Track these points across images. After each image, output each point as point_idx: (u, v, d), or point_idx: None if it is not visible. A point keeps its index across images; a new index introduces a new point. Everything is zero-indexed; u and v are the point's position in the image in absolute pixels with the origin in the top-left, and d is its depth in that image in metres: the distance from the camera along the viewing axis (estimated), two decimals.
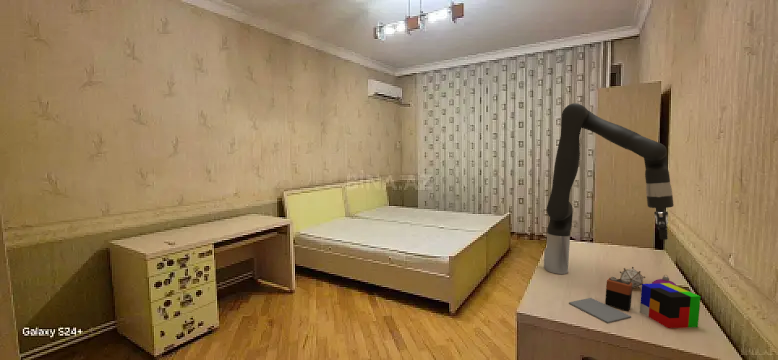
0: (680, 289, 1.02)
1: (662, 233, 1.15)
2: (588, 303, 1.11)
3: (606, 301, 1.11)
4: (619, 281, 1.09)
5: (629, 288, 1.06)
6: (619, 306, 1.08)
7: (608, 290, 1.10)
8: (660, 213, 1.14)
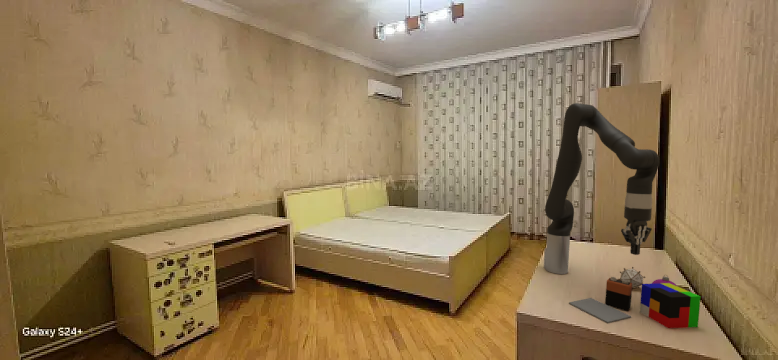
0: (680, 289, 1.02)
1: (632, 248, 1.11)
2: (588, 303, 1.11)
3: (606, 301, 1.11)
4: (619, 281, 1.09)
5: (629, 288, 1.06)
6: (619, 306, 1.08)
7: (608, 291, 1.10)
8: (624, 231, 1.09)
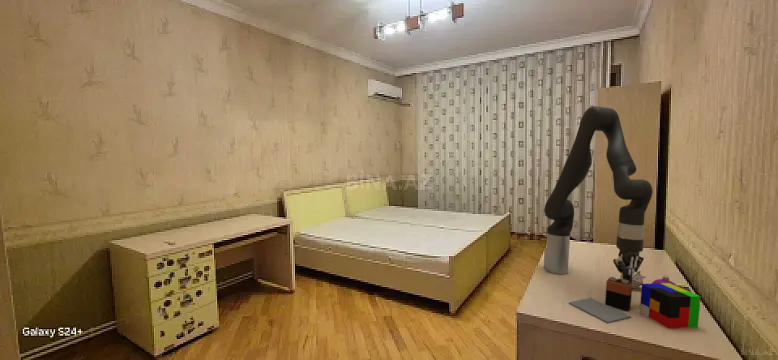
0: (681, 289, 1.02)
1: (624, 277, 1.10)
2: (588, 303, 1.11)
3: (606, 301, 1.11)
4: (619, 281, 1.09)
5: (629, 289, 1.06)
6: (619, 306, 1.08)
7: (608, 291, 1.10)
8: (616, 262, 1.08)
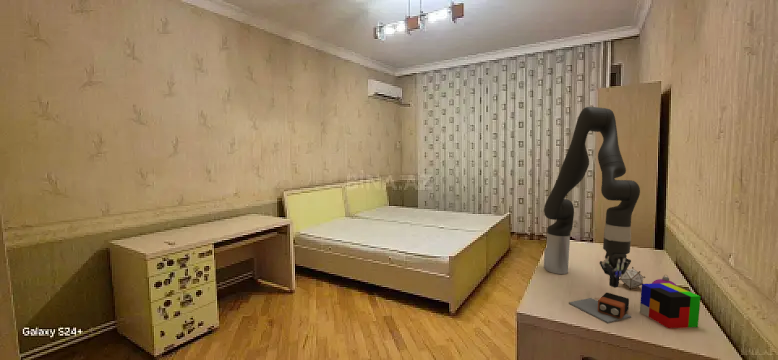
0: (680, 289, 1.02)
1: (611, 280, 1.08)
2: (588, 303, 1.11)
3: None
4: (609, 311, 1.03)
5: (621, 317, 1.01)
6: None
7: None
8: (603, 264, 1.06)
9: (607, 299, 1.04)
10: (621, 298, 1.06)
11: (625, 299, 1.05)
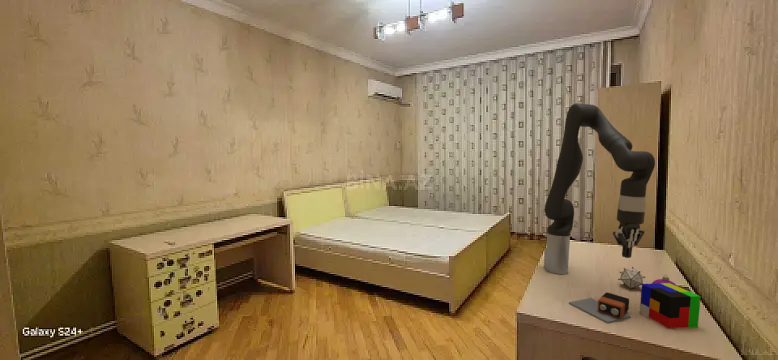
0: (680, 289, 1.02)
1: (623, 250, 1.10)
2: (588, 303, 1.11)
3: None
4: (609, 311, 1.03)
5: (621, 317, 1.01)
6: None
7: None
8: (616, 234, 1.07)
9: (607, 299, 1.04)
10: (621, 298, 1.06)
11: (625, 299, 1.05)
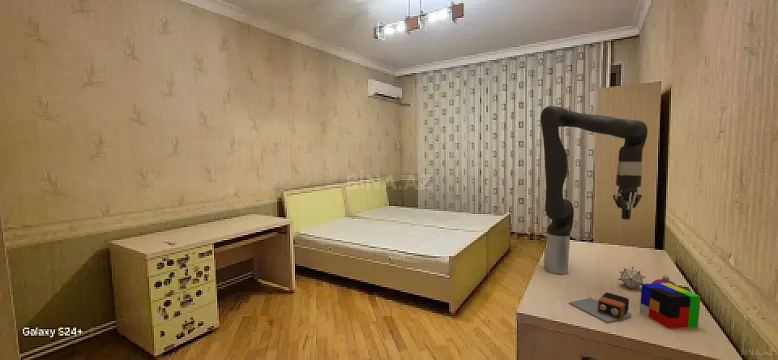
0: (680, 289, 1.02)
1: (623, 213, 1.18)
2: (588, 303, 1.11)
3: None
4: (609, 311, 1.03)
5: (621, 317, 1.01)
6: None
7: None
8: (616, 197, 1.16)
9: (607, 299, 1.04)
10: (621, 298, 1.06)
11: (625, 299, 1.05)
